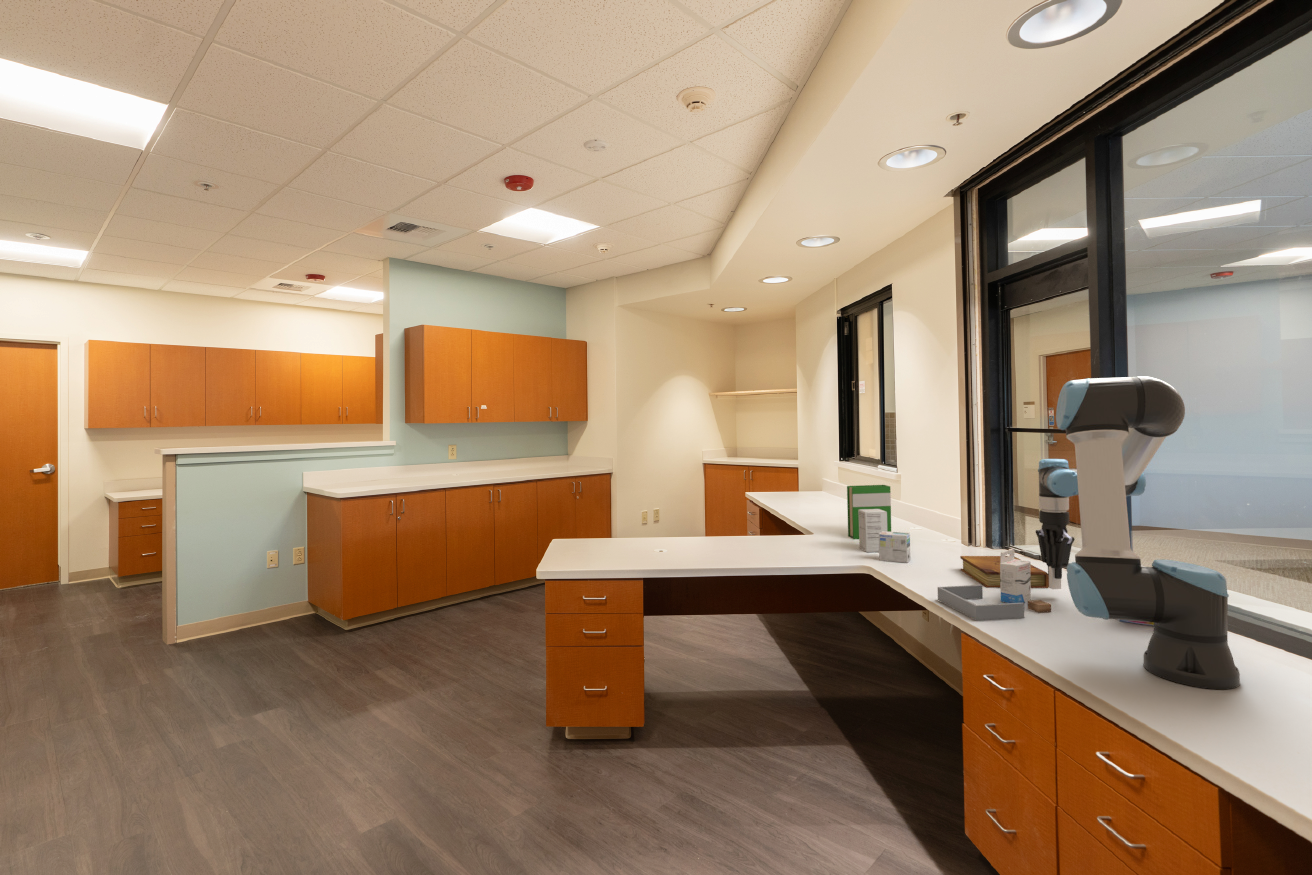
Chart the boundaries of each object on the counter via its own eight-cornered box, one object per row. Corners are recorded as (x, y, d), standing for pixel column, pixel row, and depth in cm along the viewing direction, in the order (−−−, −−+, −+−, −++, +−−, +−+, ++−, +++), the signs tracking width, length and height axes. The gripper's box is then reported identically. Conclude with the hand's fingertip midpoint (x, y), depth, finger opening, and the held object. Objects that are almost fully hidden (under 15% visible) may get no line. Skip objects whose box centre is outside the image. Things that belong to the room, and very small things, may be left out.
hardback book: (853, 539, 274) (852, 487, 273) (848, 536, 281) (846, 485, 281) (891, 538, 274) (890, 486, 274) (885, 535, 282) (883, 484, 281)
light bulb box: (911, 559, 232) (910, 532, 232) (908, 563, 226) (907, 535, 226) (882, 557, 238) (881, 530, 238) (878, 560, 232) (878, 533, 232)
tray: (1024, 617, 163) (1023, 603, 162) (976, 620, 161) (975, 606, 161) (981, 597, 181) (980, 584, 181) (937, 599, 180) (937, 586, 180)
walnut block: (1051, 612, 167) (1051, 604, 166) (1038, 613, 166) (1038, 605, 166) (1040, 608, 171) (1040, 599, 170) (1027, 609, 170) (1027, 600, 170)
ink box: (1017, 605, 173) (1016, 555, 173) (999, 601, 177) (999, 552, 177) (1031, 599, 178) (1031, 551, 177) (1014, 596, 182) (1013, 548, 182)
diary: (1049, 590, 189) (1049, 572, 189) (986, 589, 192) (986, 571, 192) (1016, 571, 212) (1015, 555, 212) (960, 571, 215) (960, 555, 214)
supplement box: (888, 552, 246) (887, 511, 246) (866, 552, 246) (865, 512, 246) (880, 547, 256) (879, 508, 255) (858, 547, 256) (857, 508, 256)
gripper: (1083, 513, 172) (1084, 593, 172) (1049, 506, 185) (1050, 581, 185) (1058, 514, 171) (1059, 595, 172) (1026, 507, 184) (1028, 583, 185)
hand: (1055, 588), depth 178 cm, fingers closed
